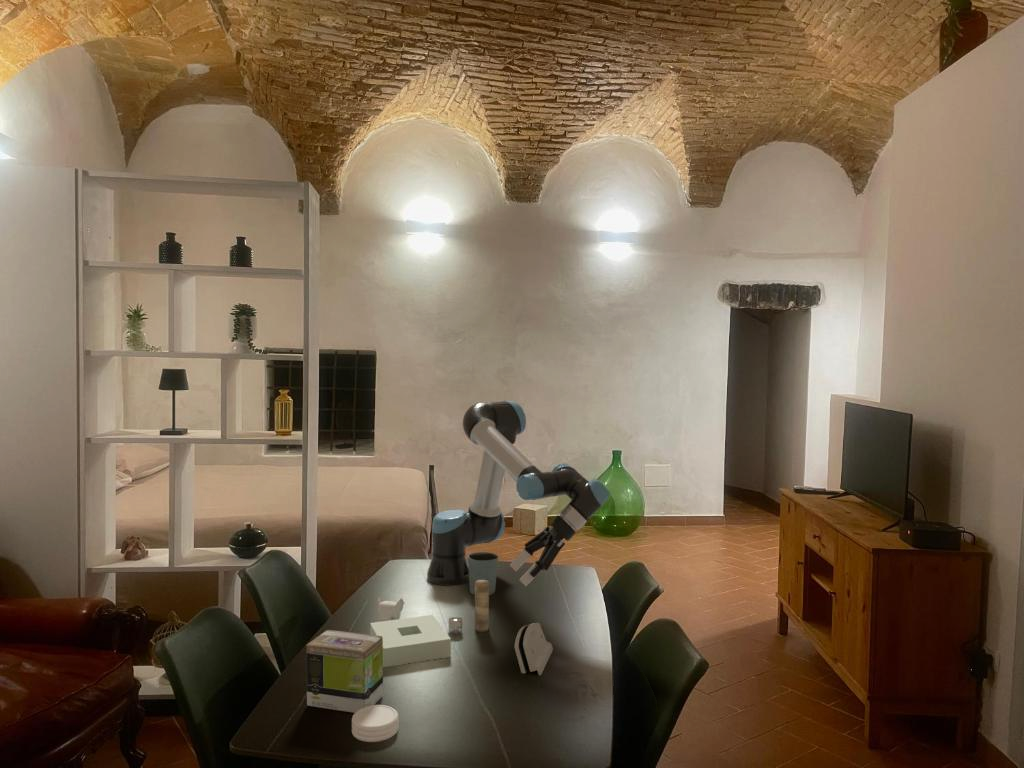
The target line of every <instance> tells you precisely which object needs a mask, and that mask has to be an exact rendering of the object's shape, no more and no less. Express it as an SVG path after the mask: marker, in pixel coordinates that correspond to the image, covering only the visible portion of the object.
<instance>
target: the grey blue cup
mask: <svg viewBox="0 0 1024 768" xmlns="http://www.w3.org/2000/svg"><path fill="white" fill-rule="evenodd" d="M467 563H468V566H469V581H468V583H469V585H468V586H469V593H470V594H471V595H474V596H475V582H476V581H477V580H487V581H489V596H491V595H493V594H495V592H496V584H497V572H498V563H499V555H498V554H496V553H494V552H489V551H487V552H485V551H483V552H482V551H481V552H480V551H479V552H473V553H470V554H468V556H467Z"/></svg>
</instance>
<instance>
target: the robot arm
mask: <svg viewBox="0 0 1024 768" xmlns="http://www.w3.org/2000/svg"><path fill="white" fill-rule="evenodd" d="M526 426H527V417H526V414H525V411H524V409H523V407H522V406H521V405H520V404H519V403H518V402H516V401H511V400H510V401H509V400H503V401H490V402H489V401H488V402H483V401H482V402H477V403H475V404H473V405H471V406H470V407H468V409H467V410H466V411H465V413H464V415H463V418H462V429H463V431H464V433H465V435H466V437H467V438H468V440H470V442H471V443H473V444H474V445H476V446H479V447H481V448H482V449H483V455H482V460H481V465H480V470H479V476H478V481H477V486H476V491H475V497H474V500H473V501H472V502H470V503H469V505H468V510H467V512H466V511H464V510H462V509H452V510H451V509H447V510H442V511H440V512H438V513H437V514H436V515H434V517H433V518H432V526H431V531H432V532H431V533H432V534H431V535H432V537H431V539H432V541H431V542H432V545H431V546H432V554H431V555H432V557H431V560H430V563H429V567H428V569H427V573H426V574H427V575H426V578H427V579H426V580H427V581H428V582H429V583H431V584H434V585H437V586H438V585H440V586H456V585H457V586H458V585H461V584H462V585H463V584H465V583H467V582H469V581H470V580H469V564H468V559H467V558H466V557H467V556H466V548H467V547H472V546H476V545H481V544H489V543H492V542H495V541H497V540H499V539H500V538H501V537H503V533H504V532H505V529H506V521H505V516H504V514H503V512H502V509H501V507H500V506H499V501H500V497H501V492H502V487H503V482H504V477H505V473H507V474H508V475H509V476H510V478H512V479H513V480H514V482H515V483H516V486H515V487H516V491H517V493H518V496H519V497H520V498H521V499H522V500H524V501H530V500H531V501H536V500H537V501H538V500H540V499H546V498H553V497H558V496H567V497H568V498H569V499H570V501H569V502H568V503H567V504H566V505H565V506H564V508H562V509H561V510H560V511H559V515H556V516H555V517H554V518H553V519H552V520H551V521H550V522H549V525H550V526H551V527H552V528H550V527H549V526H547V527H546V528H544V529H543V531H540V533H538V534H537V535H535V536H534V537H532V538H531V539H530V540H528V541H527V542H526V543H525V544H524V546H525V547H524V549H523V550H522V551H521V552H520V554H518V555H517V556H516V557H515V559H514V560H513V561H512V562H510V563H509V566H510V567H511V568H512V569H513V570H514V571H515V572H517V571H518V570H519V569H520V568H521V567H522V566H523V565H524V564H525V563H526V562H527V561H528V560H529V559H530V558H531V557H533V555H534V553H536V552H537V551H539V550H541V549H543V548H544V549H543V550H542V552H541V555H540V557H539V558H538V560H536V561H534V563H533V564H532V566H530V567H529V569H528V570H526V572H525V573H523V575H522V576H521V577H520V578H519V582H521V583H522V585H524V587H528V585H530V584H531V582H532V581H533V580H534V579H535V578H536V577H537V576H538V575H539V574H540V572H542V571H544V570H545V571H547V570H548V569H549V568H550V566H551V565H552V564H553V562H554V560H555V559H556V558H557V556H558V554H559V553H560V551H561V550H562V549H563V547H564V546H565V545H566V543H565V542H564V541H563V540H565V541H570V540H571V539H572V538H573V537H574V536H575V535H576V531H579V530H580V529H581V528H583V527H585V526H586V525H585V524H586V523H587V522H588V520H589V519H590V518H591V517H593V515H594V514H595V513H597V511H599V510H600V508H601V507H603V506H604V504H605V503H606V502H607V501H608V499H609V498H610V497H611V491H610V490H609V489H608V488H607V486H605V485H604V483H602V482H601V481H600V480H599V479H597V477H596V478H595V477H594V478H592V479H590V480H588V479H586V477H584V476H583V475H582V474H581V473H579V472H578V470H576V469H575V468H574V467H572V466H571V465H570V464H568V463H565V462H562V463H561V462H560V463H559V464H558V465H555V466H554V467H553V468H552V469H551V471H544V472H543V471H542V470H540V469H539V468H538V467H536V465H535V464H533V463H532V462H531V461H530V459H528V458H527V456H525V454H523V452H521V451H520V450H519V449H518V448H517V447H516V446H515V445H514V444H515V443H516V439H517V435H520V434H522V433H523V432H524V431H525V429H526Z"/></svg>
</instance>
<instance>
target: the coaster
mask: <svg viewBox="0 0 1024 768" xmlns="http://www.w3.org/2000/svg"><path fill="white" fill-rule="evenodd" d="M399 725H400V724H399V712H398V711H397V709H395V708H393V707H391V706H389V705H386V704H385V705H384V704H375V705H371V706H367V707H364V708H361V709H360V710H358V711H357V712H355V713H353V715H352V717H351V734H352V736H353V737H354V738H355V739H356V740H358V741H362V742H366V743H377V742H383V741H386V740H388V739H391V738H392V737H393V736H395V735H396V734H397V733H398V730H399Z"/></svg>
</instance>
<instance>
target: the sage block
mask: <svg viewBox="0 0 1024 768" xmlns="http://www.w3.org/2000/svg"><path fill="white" fill-rule="evenodd" d="M369 626H370V627H369V635H377V636H382V637H383V668H389V667H396V666H403V664H404V665H409V664H408V663H410V664H415V663H414V662H416V663H421V662H420V661H423V662H427V661H426V660H429V661H435V660H434V659H436V660H440V659H439V658H442V659H447V658H446V657H449V658H451V657H452V639H451V637H450V635H449V633H447V632H446V630H445V629H444V628H443V627H442V625H441V624H440V622H439V621H438V619H437V618H436V617H435V616H434V614H428V615H419V616H414V617H405V618H399V619H397V620H391V619H390V620H389V621H382V622H381V621H376V622H370V624H369Z"/></svg>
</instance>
